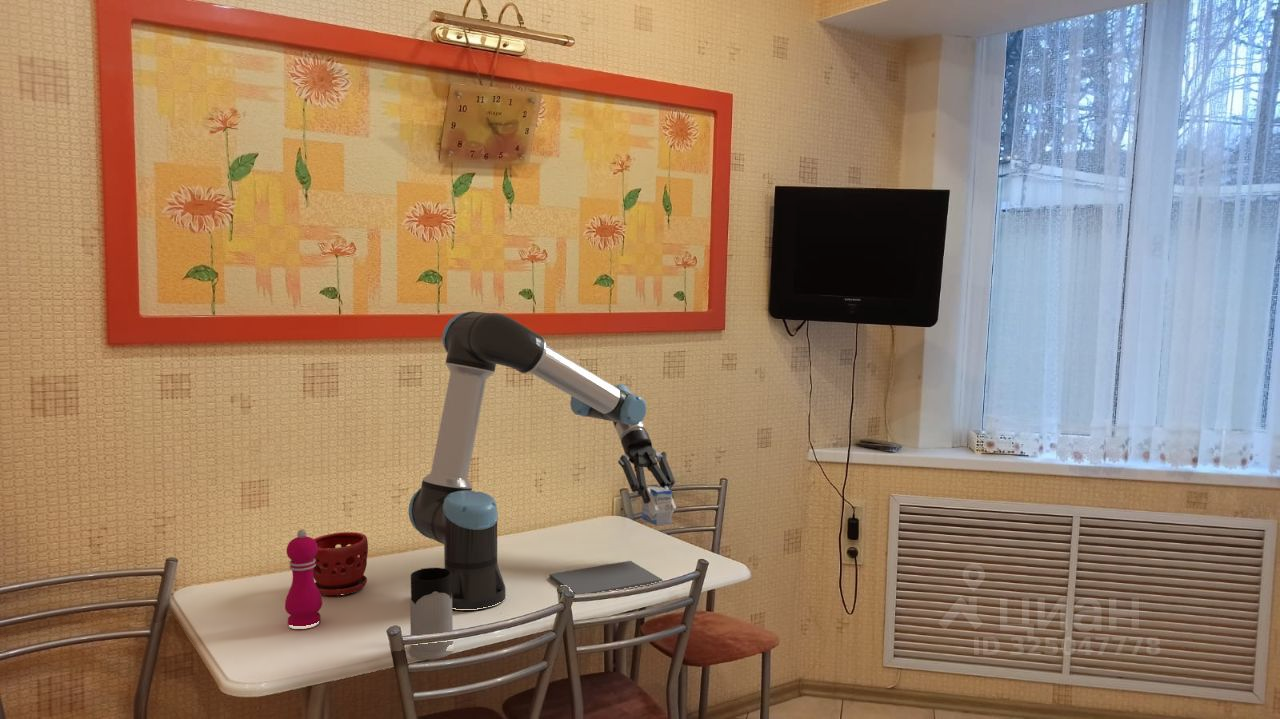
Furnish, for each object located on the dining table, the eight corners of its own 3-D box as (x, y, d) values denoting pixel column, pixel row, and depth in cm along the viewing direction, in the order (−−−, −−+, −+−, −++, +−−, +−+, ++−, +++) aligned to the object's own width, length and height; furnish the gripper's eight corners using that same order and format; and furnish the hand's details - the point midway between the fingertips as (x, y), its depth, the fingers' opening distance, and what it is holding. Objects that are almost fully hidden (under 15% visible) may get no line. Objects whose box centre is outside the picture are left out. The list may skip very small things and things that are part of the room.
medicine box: (641, 518, 225) (641, 485, 224) (656, 516, 227) (656, 483, 227) (656, 526, 218) (656, 492, 218) (671, 524, 220) (672, 490, 220)
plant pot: (338, 577, 210) (337, 528, 209) (380, 585, 205) (379, 535, 204) (295, 594, 199) (294, 542, 198) (338, 604, 193) (337, 550, 192)
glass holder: (412, 662, 163) (411, 584, 162) (400, 634, 176) (399, 561, 175) (459, 654, 167) (458, 577, 165) (444, 628, 180) (443, 556, 178)
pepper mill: (286, 633, 176) (283, 536, 175) (284, 620, 183) (282, 527, 181) (324, 628, 179) (321, 532, 177) (321, 615, 186) (319, 523, 184)
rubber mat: (577, 599, 197) (577, 594, 196) (549, 578, 211) (549, 574, 210) (662, 583, 207) (662, 579, 207) (630, 564, 221) (630, 560, 221)
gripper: (657, 442, 239) (688, 515, 226) (599, 447, 231) (628, 523, 217) (667, 425, 234) (699, 500, 221) (608, 430, 226) (638, 507, 212)
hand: (664, 511), depth 219 cm, fingers closed on medicine box, 4 cm apart
